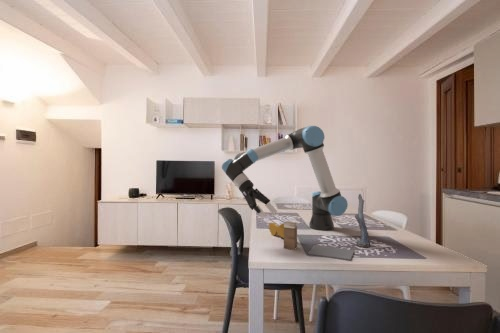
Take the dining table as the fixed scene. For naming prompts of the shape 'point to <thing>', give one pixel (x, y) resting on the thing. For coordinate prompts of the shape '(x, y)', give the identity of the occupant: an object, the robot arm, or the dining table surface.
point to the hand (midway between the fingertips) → (270, 215)
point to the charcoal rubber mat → (331, 252)
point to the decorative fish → (276, 229)
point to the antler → (362, 225)
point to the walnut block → (290, 235)
